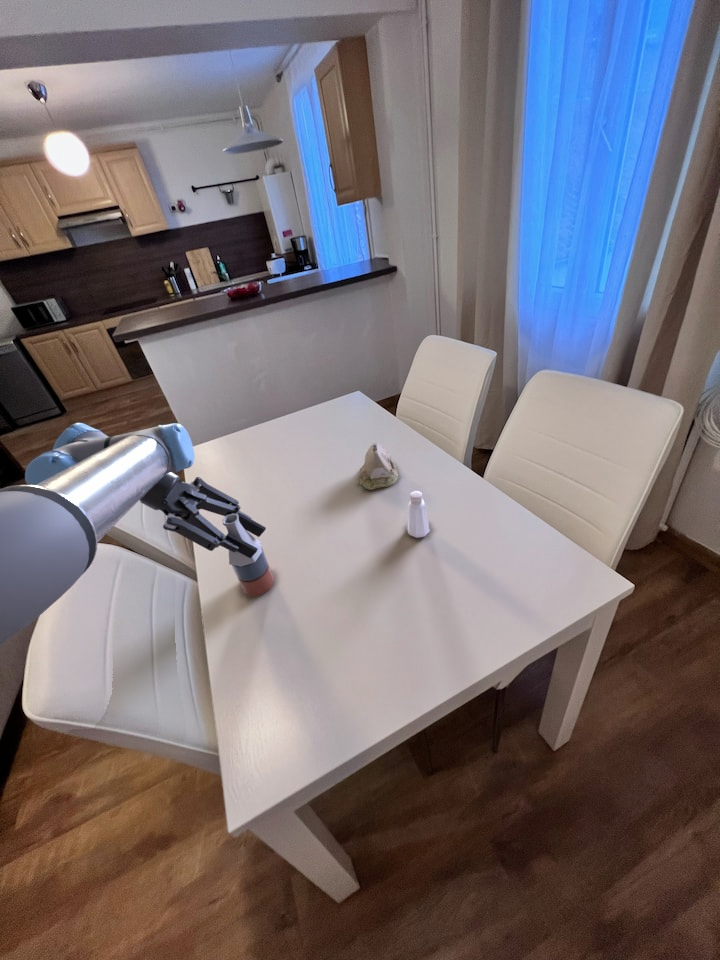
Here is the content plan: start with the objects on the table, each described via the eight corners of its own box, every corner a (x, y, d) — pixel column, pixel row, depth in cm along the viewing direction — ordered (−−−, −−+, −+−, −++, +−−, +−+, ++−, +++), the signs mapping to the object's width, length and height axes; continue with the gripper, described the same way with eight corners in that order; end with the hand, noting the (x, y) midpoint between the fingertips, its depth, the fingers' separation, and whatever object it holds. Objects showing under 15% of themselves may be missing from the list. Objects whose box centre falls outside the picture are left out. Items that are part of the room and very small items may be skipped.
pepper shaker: (434, 531, 95) (433, 495, 89) (415, 541, 94) (413, 505, 87) (420, 519, 99) (418, 484, 93) (402, 528, 98) (399, 493, 91)
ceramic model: (399, 487, 111) (396, 457, 105) (359, 491, 112) (354, 461, 106) (396, 459, 122) (393, 431, 117) (360, 463, 123) (355, 435, 118)
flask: (258, 566, 81) (243, 529, 75) (224, 569, 82) (206, 533, 76) (265, 540, 87) (252, 505, 81) (233, 543, 88) (218, 508, 82)
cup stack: (262, 600, 86) (249, 570, 80) (236, 591, 89) (222, 562, 83) (280, 575, 91) (268, 546, 85) (255, 568, 94) (243, 539, 88)
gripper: (129, 503, 66) (254, 568, 73) (178, 444, 80) (278, 503, 87) (116, 528, 69) (235, 587, 77) (165, 468, 84) (262, 522, 91)
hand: (258, 542), depth 82 cm, fingers open, 5 cm apart
